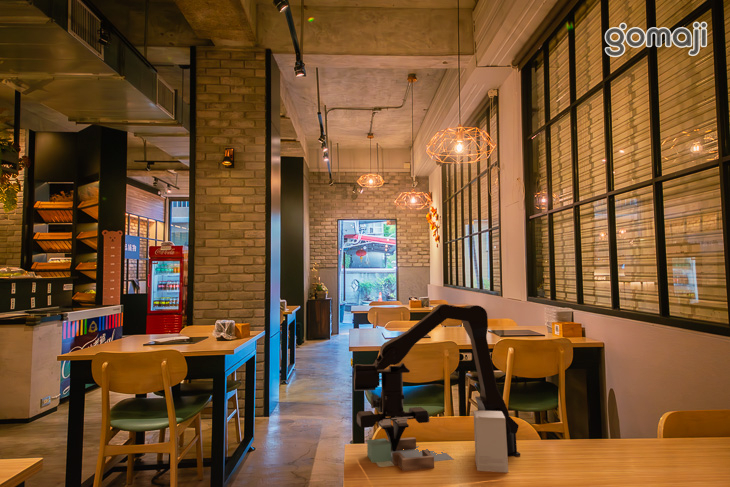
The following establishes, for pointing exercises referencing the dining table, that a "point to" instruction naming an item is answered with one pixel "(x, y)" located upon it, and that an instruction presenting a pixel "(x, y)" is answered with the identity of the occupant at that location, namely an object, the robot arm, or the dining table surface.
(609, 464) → the dining table surface
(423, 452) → the tunnel
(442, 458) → the grey board
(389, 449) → the block
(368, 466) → the dining table surface
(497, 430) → the supplement box
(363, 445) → the dining table surface
